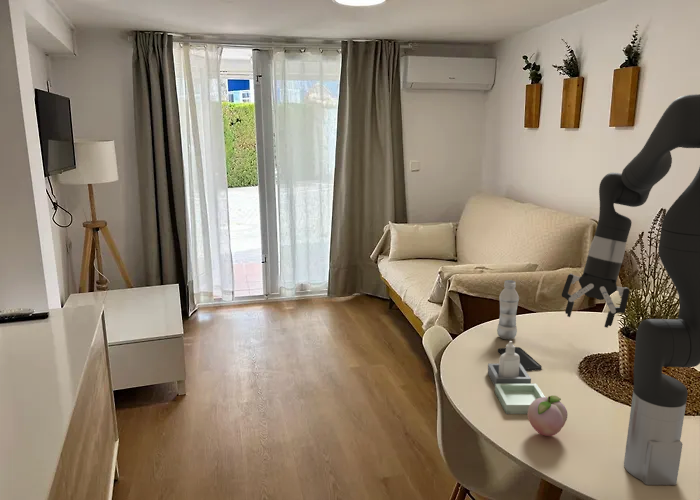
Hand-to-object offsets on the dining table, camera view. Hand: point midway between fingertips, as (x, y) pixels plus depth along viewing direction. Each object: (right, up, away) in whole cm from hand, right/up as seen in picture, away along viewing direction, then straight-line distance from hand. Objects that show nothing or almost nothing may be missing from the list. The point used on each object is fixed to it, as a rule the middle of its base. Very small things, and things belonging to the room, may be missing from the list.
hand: (587, 321), depth 126 cm
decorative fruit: (-12, -26, -5) cm, 29 cm away
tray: (-13, -22, +9) cm, 27 cm away
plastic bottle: (-5, -13, +50) cm, 52 cm away
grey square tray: (-13, -20, +20) cm, 31 cm away
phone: (-6, -17, +34) cm, 38 cm away
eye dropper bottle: (-13, -20, +20) cm, 31 cm away
